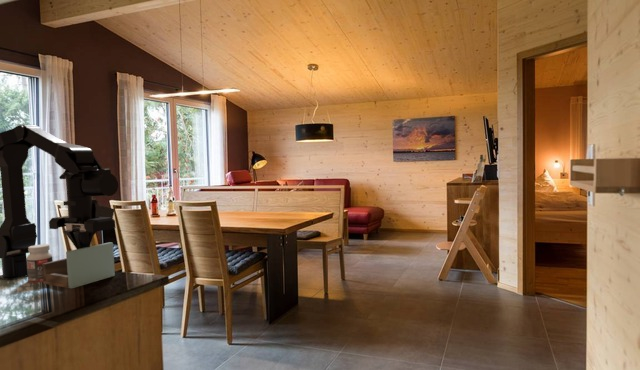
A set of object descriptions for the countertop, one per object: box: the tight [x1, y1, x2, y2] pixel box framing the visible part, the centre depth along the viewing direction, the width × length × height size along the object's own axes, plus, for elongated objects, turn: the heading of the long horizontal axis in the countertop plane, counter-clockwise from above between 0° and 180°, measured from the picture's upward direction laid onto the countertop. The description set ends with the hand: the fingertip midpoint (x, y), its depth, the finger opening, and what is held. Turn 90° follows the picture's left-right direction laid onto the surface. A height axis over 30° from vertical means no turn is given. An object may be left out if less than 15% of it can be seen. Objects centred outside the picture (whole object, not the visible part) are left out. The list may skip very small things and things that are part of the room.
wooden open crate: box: [42, 257, 70, 289], centre depth 113 cm, size 10×12×6 cm
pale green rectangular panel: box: [65, 241, 116, 289], centre depth 110 cm, size 1×12×9 cm, turn 153°
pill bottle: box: [26, 243, 54, 284], centre depth 113 cm, size 6×6×10 cm
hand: (84, 256), depth 111 cm, fingers closed
